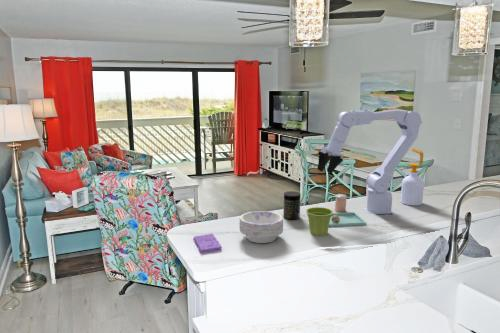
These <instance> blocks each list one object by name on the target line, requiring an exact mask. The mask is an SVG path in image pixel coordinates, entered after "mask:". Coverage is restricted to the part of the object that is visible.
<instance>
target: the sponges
mask: <svg viewBox="0 0 500 333" xmlns="http://www.w3.org/2000/svg"><path fill="white" fill-rule="evenodd" d="M193 240H195V241H194V242H195V244H196V246H197V249H198V250H199V253H200V254H207V253H212V252H213V253H214V252H221V251H222V250H223V249H222V248H223V247H222V245H221V244H220V243H219V241H218V239H217V237H216V236H215V235H214V233H207V234H202V235H196V236H195V235H194V236H193Z"/></svg>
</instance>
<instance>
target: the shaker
mask: <svg viewBox="0 0 500 333" xmlns="http://www.w3.org/2000/svg"><path fill="white" fill-rule="evenodd" d="M334 196H335V204H334V206H335V207H334V211H335V213H347V212H346V211H347V198H348V196H347V195H346V194H344V193H343V194H342V193H338V194H335V195H334Z"/></svg>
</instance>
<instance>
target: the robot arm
mask: <svg viewBox="0 0 500 333" xmlns="http://www.w3.org/2000/svg"><path fill="white" fill-rule="evenodd" d="M336 120H337V123H336V126H335V127H334V130H333V132H332V135H331V137H330V138H329V142H328V144H327V146H322V147H321V149H320V150H319V151H318V153H317V154H318V163H317V171H320V172H323V171H324V170H325V168H326V166H327V164H328V166H327V170H326V171H327V172H328V173H329V174H333V173H334V171H335V169H337V167H338V166H339V165H340V164H341V163H342V162H343V161H344V159H343V157H344V153H343V152H342V150H343V147H344V145H345V142H346V141H347V138H348V136H349V134H350V131H351V128H352V127H355V126H362V125H371V124H372V123H373V122H374V121H382V120H383V121H384V120H392V121H395V122H396V124H397V126H398V127H399V129H400V132H401V136H400V137H399V139H398V140H397V142H396V143H395V145H394V146H393V148H392V149H391V151H390V152H389V153H388V155H387V156H386V157H385V159H384V160H383V162H382V163H381V164H380V166H379V167H377V168H375V169H374V171H372V172H370V174H368V175H367V176H366V179H365V183H366V185H367V186H368V188H367V196H366V197H367V198H366V199H367V200H366V207H365V206H364V207H362V208H363V209H364V210H365V211H367V212H368V213H369V214H375V215H383V214H385V215H387V214H393V211H392V207H393V205H392V204H393V195H392V192H391V190H389V187H390V183H391V182H392V180H393V175H392V174H393V172H394V171H395V170H396V168H397V167H398V165H399V164H400V163H401V161H402V160H403V158H404V157H405V156H406V154H407V153H408V151H409V150H411V149H410V148H411V147H412V146H413V145H414V143H415V142H416V140H417V139H418V137H419V130H420V127H421V125H422V122H423V121H422V118H421V115H420V113H419V112H418V111H415V110H406V109H401V110H400V109H388V110H382V111H374V112H373V111H372V110H371V109H368V108H366V107H365V108H362V109H361V110H355V109H351V110H350V111H342V112H340V113H339V115H337V117H336Z"/></svg>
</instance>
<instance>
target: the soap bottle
mask: <svg viewBox="0 0 500 333" xmlns="http://www.w3.org/2000/svg"><path fill="white" fill-rule="evenodd" d="M410 151H411V152H414V153H418V154H419V163H414V162H409V163H408V166H410V168H412V169H410V170H409V174H408V175H407V176H405V177H403V179H402V181H401V189H400V190H401V191H400V202H401V203H402V204H403V205H407V206H413V207H415V206H417V207H418V206H421V205H422V204H423V198H424V189H425V181H424V179H422V178H421V177H420V176H418V174H419V170H417V169H418V167H419V166H421V165H423V162H424V152H423V151H421V150H419V149H416V148H415V147H413V148H411V149H410Z"/></svg>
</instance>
